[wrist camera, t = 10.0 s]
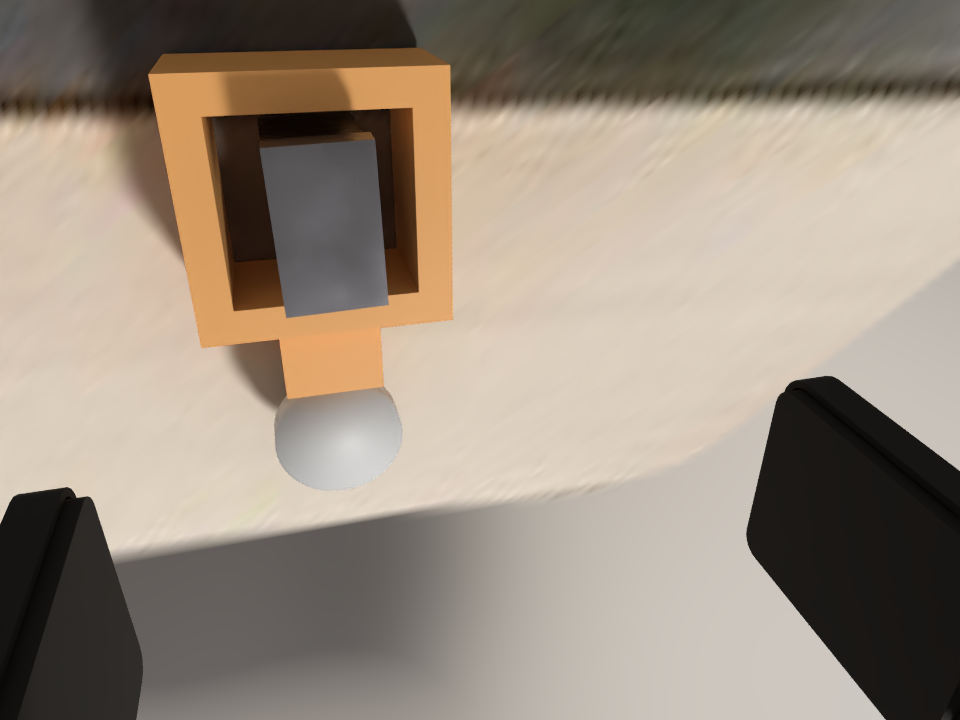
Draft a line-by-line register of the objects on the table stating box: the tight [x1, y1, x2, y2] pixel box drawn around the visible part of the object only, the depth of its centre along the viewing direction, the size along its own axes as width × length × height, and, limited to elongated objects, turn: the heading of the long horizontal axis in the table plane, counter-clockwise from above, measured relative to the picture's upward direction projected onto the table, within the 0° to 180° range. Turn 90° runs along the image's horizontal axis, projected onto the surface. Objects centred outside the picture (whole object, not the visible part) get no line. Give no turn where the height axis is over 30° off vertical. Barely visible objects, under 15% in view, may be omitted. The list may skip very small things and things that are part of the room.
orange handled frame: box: [148, 48, 453, 491], centre depth 28 cm, size 17×9×4 cm, turn 0°
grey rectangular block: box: [258, 111, 389, 318], centre depth 25 cm, size 3×5×6 cm, turn 1°
